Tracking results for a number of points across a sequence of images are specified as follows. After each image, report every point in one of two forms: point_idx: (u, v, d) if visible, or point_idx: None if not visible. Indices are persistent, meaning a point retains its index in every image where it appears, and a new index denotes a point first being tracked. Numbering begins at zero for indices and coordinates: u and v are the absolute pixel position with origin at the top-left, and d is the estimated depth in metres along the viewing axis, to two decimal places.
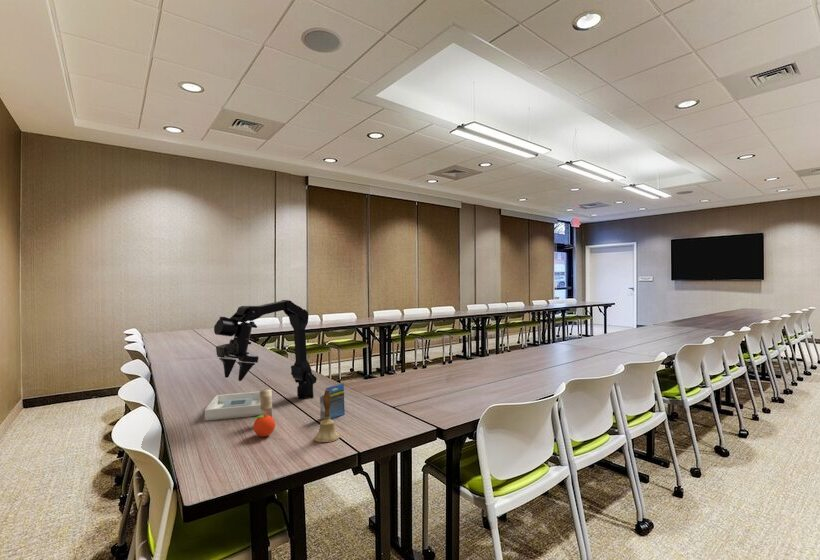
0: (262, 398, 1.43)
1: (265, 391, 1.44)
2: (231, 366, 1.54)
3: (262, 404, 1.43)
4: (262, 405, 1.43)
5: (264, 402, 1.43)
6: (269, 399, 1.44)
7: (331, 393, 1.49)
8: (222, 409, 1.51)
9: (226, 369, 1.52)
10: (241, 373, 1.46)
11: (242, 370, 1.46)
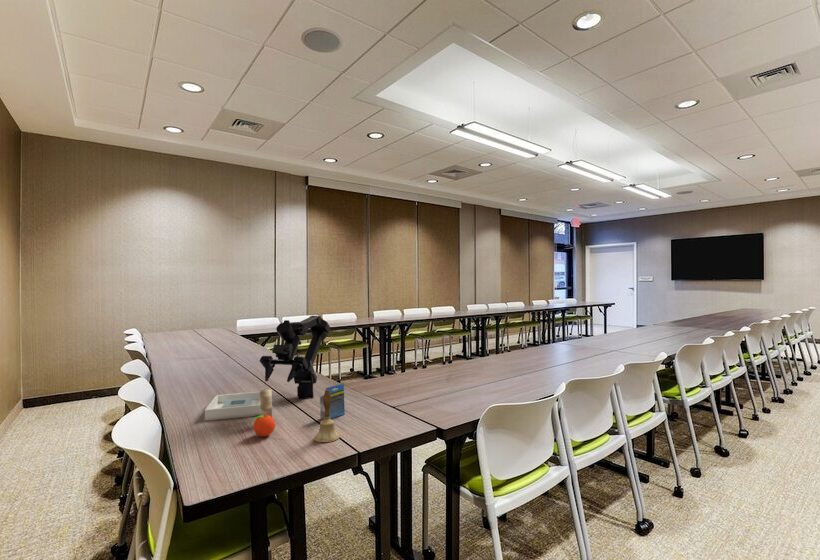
0: (262, 398, 1.43)
1: (265, 391, 1.44)
2: (270, 373, 1.58)
3: (262, 404, 1.43)
4: (262, 405, 1.43)
5: (264, 402, 1.43)
6: (269, 399, 1.44)
7: (331, 393, 1.49)
8: (222, 409, 1.51)
9: (268, 373, 1.55)
10: (291, 374, 1.53)
11: (293, 371, 1.54)
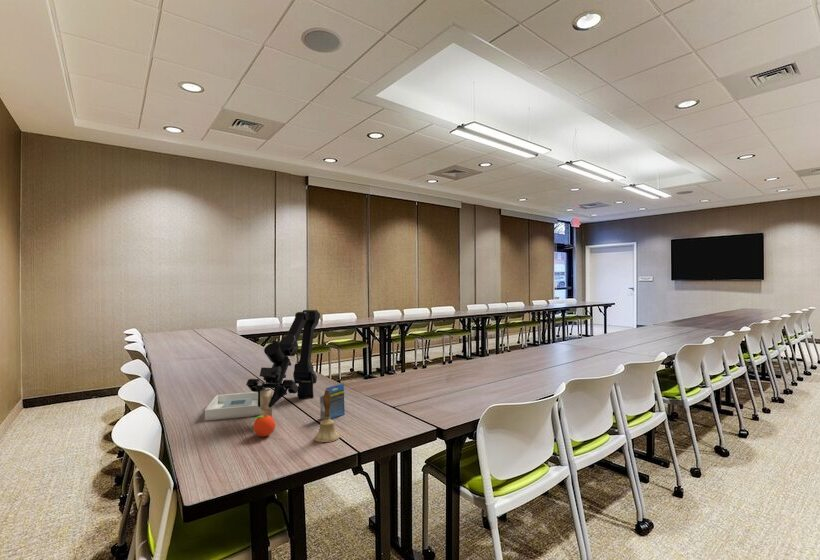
0: (262, 398, 1.43)
1: (265, 391, 1.44)
2: None
3: (262, 404, 1.43)
4: (262, 405, 1.43)
5: (264, 402, 1.43)
6: (269, 399, 1.44)
7: (331, 393, 1.49)
8: (222, 409, 1.51)
9: None
10: (274, 399, 1.45)
11: (275, 396, 1.45)
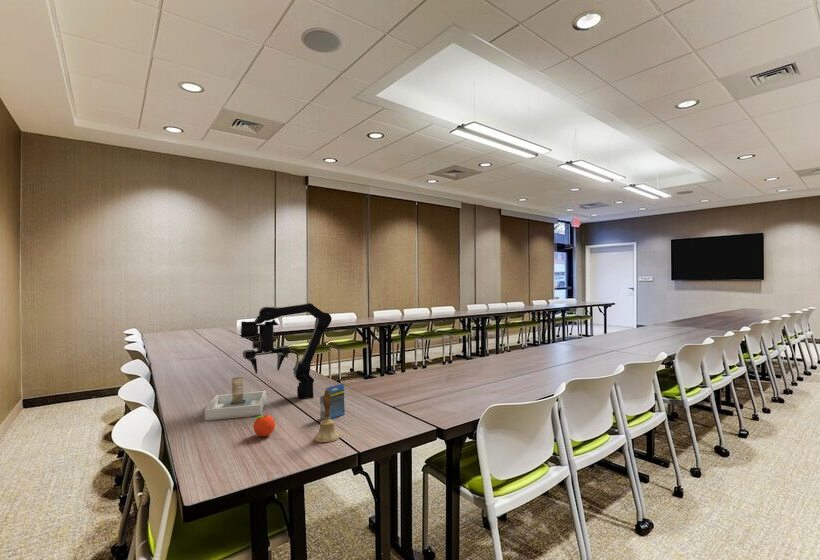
0: (232, 384, 1.60)
1: (235, 378, 1.61)
2: (279, 361, 1.72)
3: (232, 389, 1.60)
4: (232, 390, 1.60)
5: (232, 388, 1.60)
6: (236, 386, 1.59)
7: (331, 393, 1.49)
8: (222, 409, 1.51)
9: (277, 363, 1.74)
10: (253, 367, 1.68)
11: (252, 364, 1.68)
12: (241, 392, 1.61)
